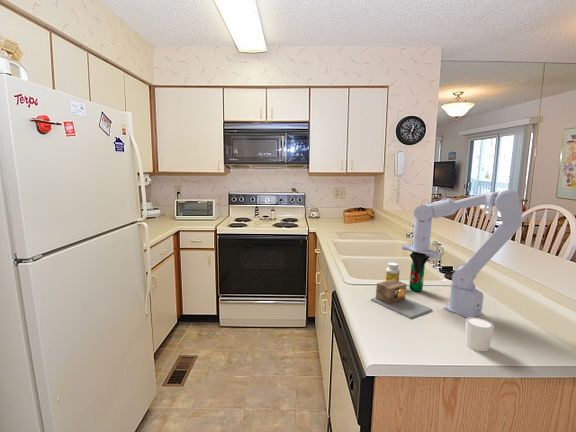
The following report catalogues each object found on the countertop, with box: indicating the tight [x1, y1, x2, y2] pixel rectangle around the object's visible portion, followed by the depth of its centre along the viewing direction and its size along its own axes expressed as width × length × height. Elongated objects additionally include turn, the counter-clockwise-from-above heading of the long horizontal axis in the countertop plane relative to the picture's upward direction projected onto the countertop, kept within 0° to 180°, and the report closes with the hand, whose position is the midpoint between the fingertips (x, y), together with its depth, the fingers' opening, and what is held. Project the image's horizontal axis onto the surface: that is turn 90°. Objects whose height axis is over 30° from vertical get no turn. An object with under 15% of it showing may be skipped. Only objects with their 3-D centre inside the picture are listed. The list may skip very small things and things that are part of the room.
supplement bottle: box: [385, 262, 400, 282], centre depth 133 cm, size 5×5×10 cm
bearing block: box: [375, 279, 408, 305], centre depth 118 cm, size 6×9×6 cm, turn 123°
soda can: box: [409, 261, 426, 293], centre depth 129 cm, size 5×5×12 cm
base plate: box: [370, 296, 433, 320], centre depth 115 cm, size 17×12×1 cm
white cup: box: [464, 317, 495, 353], centre depth 88 cm, size 7×7×7 cm
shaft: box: [395, 289, 407, 300], centre depth 118 cm, size 10×4×4 cm, turn 33°
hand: (418, 272), depth 119 cm, fingers closed
